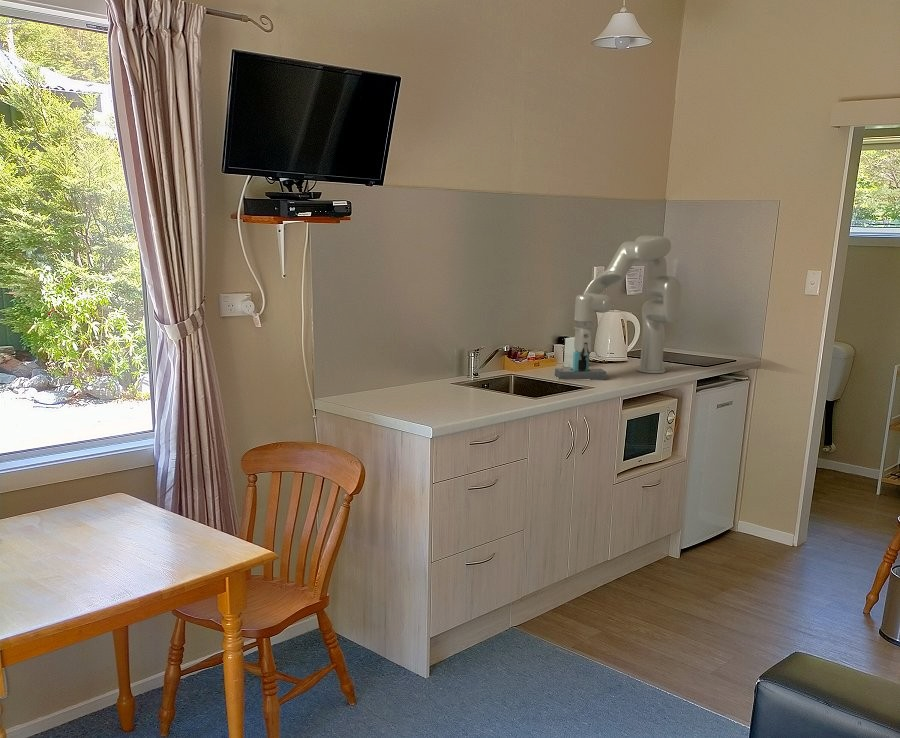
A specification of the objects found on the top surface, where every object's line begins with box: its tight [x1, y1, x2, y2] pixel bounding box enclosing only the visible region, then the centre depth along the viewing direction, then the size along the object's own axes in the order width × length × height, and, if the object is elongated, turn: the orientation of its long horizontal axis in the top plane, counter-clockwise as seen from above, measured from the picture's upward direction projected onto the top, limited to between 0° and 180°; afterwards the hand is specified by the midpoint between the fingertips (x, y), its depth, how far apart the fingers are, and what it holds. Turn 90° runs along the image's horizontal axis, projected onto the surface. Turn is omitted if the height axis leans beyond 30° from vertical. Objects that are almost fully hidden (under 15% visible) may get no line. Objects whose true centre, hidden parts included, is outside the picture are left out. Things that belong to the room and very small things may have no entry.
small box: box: [563, 336, 576, 368], centre depth 362 cm, size 8×6×13 cm
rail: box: [554, 367, 607, 381], centre depth 336 cm, size 20×7×4 cm, turn 97°
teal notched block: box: [572, 352, 591, 371], centre depth 336 cm, size 6×3×9 cm, turn 97°
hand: (580, 368), depth 336 cm, fingers closed on teal notched block, 3 cm apart
